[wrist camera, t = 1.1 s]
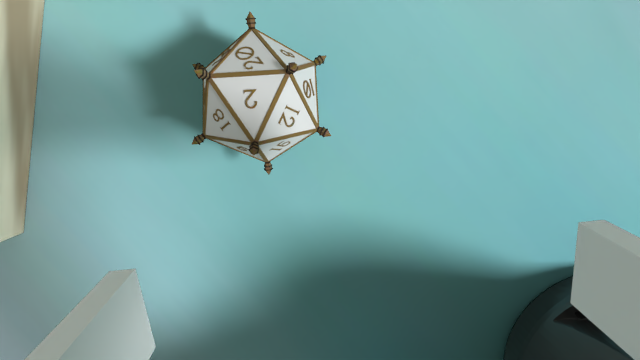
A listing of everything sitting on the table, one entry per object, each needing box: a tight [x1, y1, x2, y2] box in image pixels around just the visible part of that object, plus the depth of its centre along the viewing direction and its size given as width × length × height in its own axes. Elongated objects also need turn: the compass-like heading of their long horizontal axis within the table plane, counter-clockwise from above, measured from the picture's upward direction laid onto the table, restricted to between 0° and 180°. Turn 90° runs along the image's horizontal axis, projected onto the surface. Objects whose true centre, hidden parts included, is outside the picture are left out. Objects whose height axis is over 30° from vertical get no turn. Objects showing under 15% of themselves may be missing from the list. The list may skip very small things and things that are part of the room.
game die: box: [192, 12, 331, 174], centre depth 24 cm, size 9×8×10 cm
